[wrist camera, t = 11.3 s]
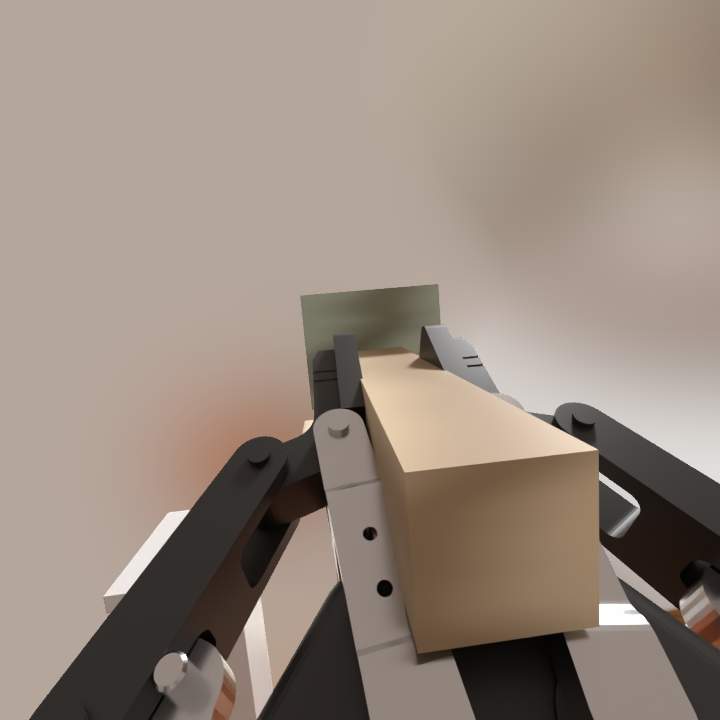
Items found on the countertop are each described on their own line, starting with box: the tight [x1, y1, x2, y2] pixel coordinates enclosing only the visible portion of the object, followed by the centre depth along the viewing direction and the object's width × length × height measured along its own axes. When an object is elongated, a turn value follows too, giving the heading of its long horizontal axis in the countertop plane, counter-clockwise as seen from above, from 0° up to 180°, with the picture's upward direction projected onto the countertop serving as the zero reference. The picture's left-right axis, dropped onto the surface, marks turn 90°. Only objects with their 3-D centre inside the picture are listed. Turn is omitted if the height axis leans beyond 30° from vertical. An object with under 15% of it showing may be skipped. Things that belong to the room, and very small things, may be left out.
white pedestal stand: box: [103, 510, 273, 720], centre depth 28 cm, size 9×10×26 cm
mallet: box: [300, 284, 600, 654], centre depth 14 cm, size 6×18×5 cm, turn 5°
